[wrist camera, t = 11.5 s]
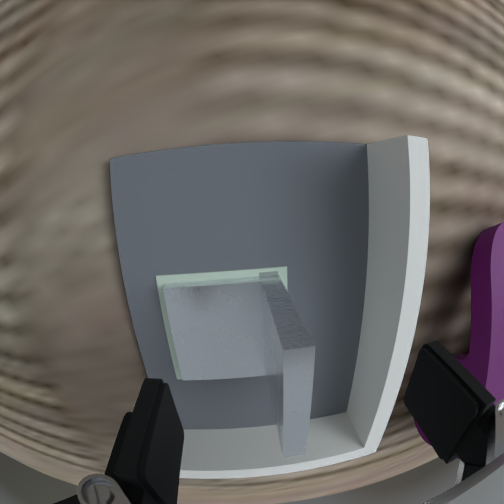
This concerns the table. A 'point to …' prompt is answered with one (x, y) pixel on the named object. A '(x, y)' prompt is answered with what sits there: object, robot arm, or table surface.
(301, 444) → the angle bracket
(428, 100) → the table surface
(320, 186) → the tray
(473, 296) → the mounting bracket
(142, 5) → the table surface
